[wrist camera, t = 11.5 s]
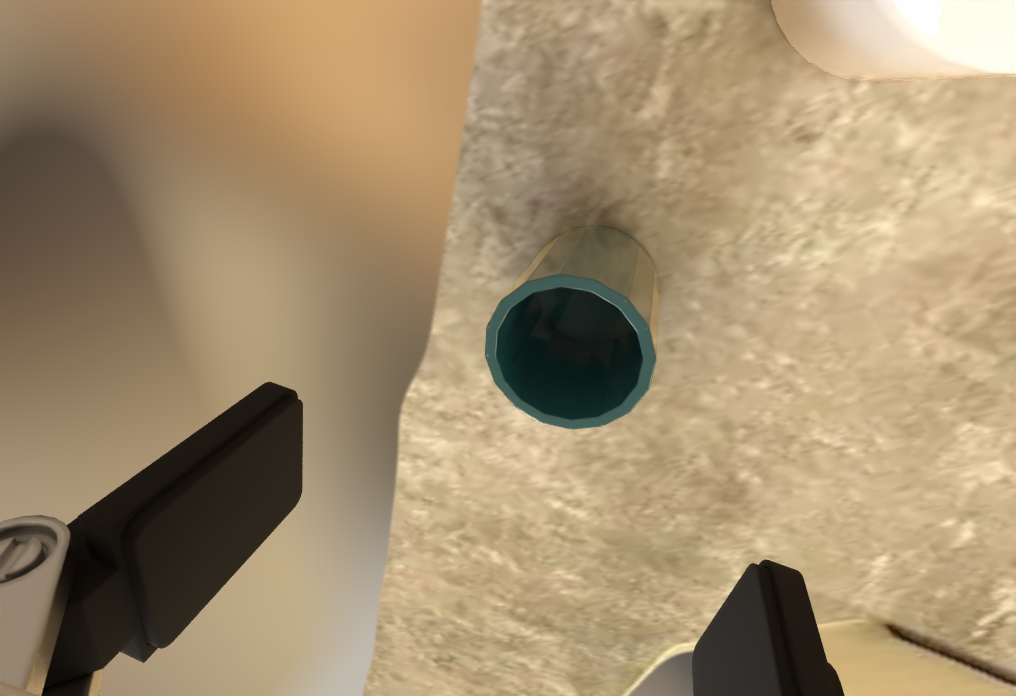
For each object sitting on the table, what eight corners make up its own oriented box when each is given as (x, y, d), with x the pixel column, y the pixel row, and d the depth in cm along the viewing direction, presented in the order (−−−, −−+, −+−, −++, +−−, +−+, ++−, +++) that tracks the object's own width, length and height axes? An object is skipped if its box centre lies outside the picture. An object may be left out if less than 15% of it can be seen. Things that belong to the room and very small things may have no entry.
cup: (516, 243, 22) (462, 295, 16) (644, 210, 20) (634, 257, 14) (550, 354, 24) (513, 436, 18) (670, 335, 22) (670, 419, 16)
